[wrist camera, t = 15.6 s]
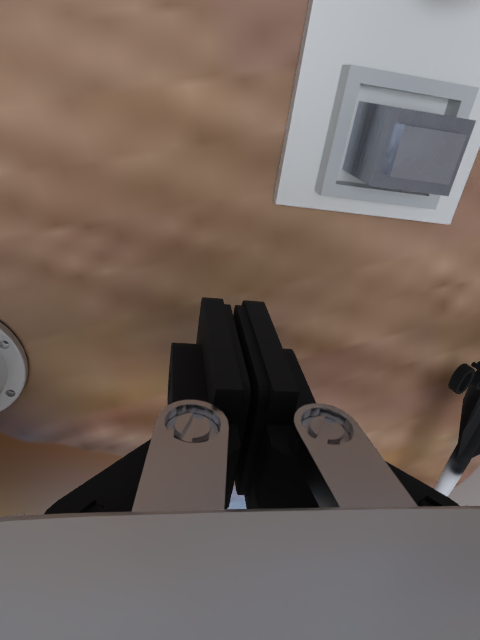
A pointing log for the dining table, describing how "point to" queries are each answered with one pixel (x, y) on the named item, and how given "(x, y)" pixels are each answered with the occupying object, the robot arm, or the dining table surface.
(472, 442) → the rocket toy
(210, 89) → the dining table surface
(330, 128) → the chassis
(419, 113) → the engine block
